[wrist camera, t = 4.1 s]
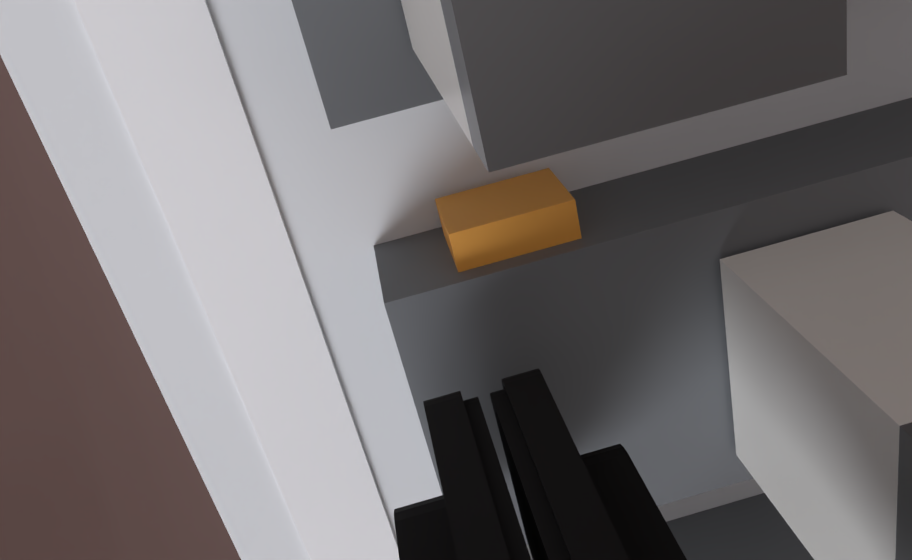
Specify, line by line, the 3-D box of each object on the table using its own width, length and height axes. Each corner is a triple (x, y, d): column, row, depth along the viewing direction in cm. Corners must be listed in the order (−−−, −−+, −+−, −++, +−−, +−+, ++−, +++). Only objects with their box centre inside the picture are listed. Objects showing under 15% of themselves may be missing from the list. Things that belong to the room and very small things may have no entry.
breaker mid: (893, 210, 12) (1202, 386, 8) (888, 410, 13) (1141, 643, 9) (719, 259, 12) (941, 464, 8) (736, 454, 13) (925, 709, 9)
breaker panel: (1337, -620, 11) (1723, -807, 8) (1116, 506, 21) (1257, 615, 18) (-107, -273, 11) (-279, -335, 7) (351, 736, 20) (360, 893, 17)
